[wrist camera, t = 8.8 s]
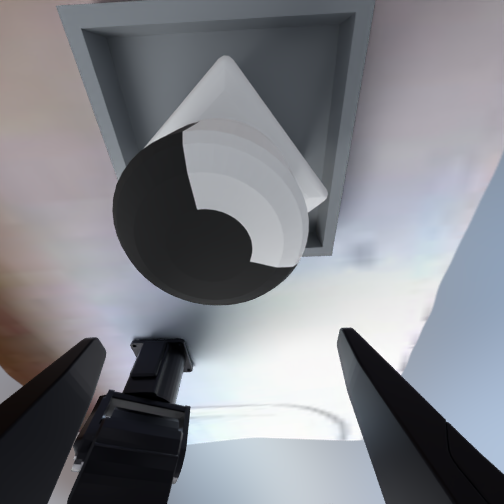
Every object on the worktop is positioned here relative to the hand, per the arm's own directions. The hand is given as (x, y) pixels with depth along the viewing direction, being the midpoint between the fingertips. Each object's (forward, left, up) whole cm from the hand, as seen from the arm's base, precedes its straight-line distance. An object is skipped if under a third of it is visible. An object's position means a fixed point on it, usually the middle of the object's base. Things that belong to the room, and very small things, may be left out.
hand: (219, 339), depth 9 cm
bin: (+4, 0, -13) cm, 13 cm away
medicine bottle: (+4, 0, -12) cm, 13 cm away
